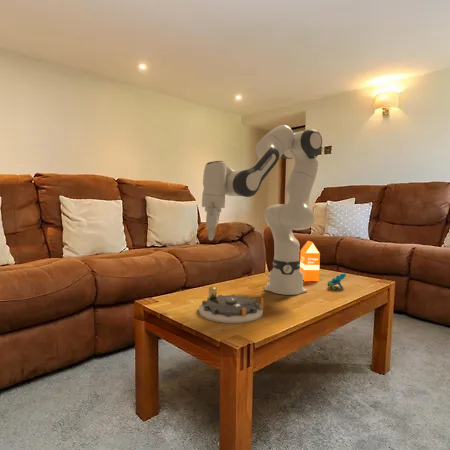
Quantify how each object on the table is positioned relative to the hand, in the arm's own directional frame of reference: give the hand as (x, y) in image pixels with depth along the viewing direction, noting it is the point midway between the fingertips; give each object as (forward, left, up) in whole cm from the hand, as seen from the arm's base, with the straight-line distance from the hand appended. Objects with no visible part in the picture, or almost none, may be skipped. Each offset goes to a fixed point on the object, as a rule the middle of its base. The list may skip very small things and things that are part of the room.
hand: (211, 238), depth 128 cm
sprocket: (+9, +9, -23) cm, 27 cm away
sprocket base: (+9, +9, -25) cm, 28 cm away
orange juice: (-48, +45, -25) cm, 70 cm away
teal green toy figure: (-32, +55, -26) cm, 69 cm away
